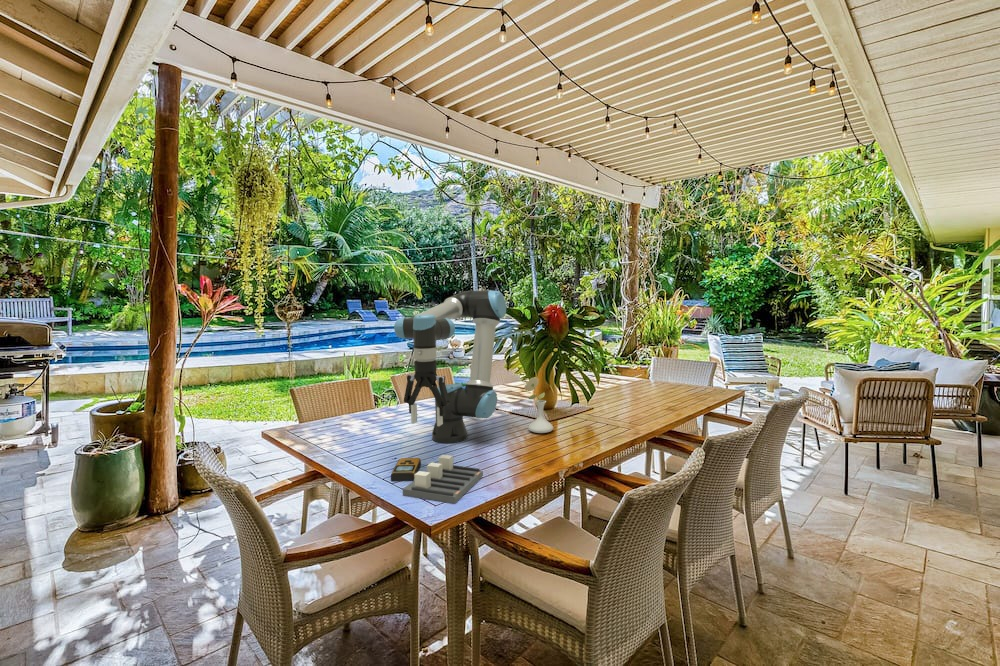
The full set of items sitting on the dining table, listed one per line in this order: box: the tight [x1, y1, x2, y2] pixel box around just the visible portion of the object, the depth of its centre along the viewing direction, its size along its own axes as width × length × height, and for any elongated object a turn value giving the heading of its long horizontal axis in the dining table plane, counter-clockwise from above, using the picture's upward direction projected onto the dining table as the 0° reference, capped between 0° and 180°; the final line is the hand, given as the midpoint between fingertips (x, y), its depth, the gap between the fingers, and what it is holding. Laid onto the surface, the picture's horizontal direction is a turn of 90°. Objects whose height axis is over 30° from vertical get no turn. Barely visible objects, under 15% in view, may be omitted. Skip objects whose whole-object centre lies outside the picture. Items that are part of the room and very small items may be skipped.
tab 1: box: [414, 470, 431, 489], centre depth 150 cm, size 3×4×4 cm
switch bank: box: [402, 464, 484, 505], centre depth 157 cm, size 22×18×3 cm
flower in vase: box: [524, 376, 554, 434], centre depth 214 cm, size 13×11×25 cm
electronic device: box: [390, 457, 422, 482], centre depth 169 cm, size 8×16×3 cm, turn 0°
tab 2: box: [426, 462, 443, 479], centre depth 158 cm, size 3×4×4 cm
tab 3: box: [438, 454, 454, 470], centre depth 165 cm, size 3×4×4 cm
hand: (427, 423), depth 166 cm, fingers open, 9 cm apart
